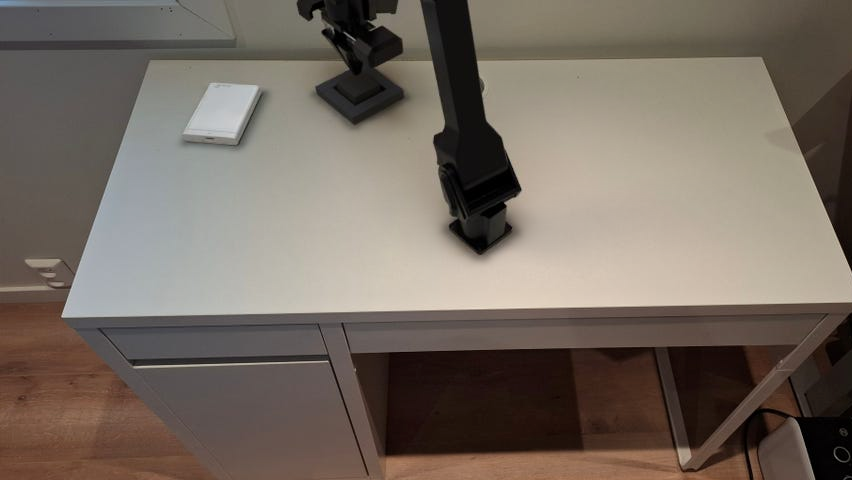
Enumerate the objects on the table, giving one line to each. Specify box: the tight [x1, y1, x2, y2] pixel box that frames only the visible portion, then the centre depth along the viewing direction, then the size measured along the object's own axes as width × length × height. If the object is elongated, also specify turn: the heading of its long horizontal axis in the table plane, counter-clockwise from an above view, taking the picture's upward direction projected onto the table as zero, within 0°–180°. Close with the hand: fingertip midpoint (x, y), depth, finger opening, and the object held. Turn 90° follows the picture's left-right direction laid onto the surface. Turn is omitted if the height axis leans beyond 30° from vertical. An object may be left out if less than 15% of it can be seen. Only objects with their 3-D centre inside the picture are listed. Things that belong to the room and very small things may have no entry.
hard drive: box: [182, 82, 263, 146], centre depth 94 cm, size 2×8×12 cm
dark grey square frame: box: [314, 63, 405, 126], centre depth 98 cm, size 10×10×2 cm
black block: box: [336, 71, 381, 106], centre depth 98 cm, size 5×5×2 cm
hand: (356, 73), depth 95 cm, fingers closed
